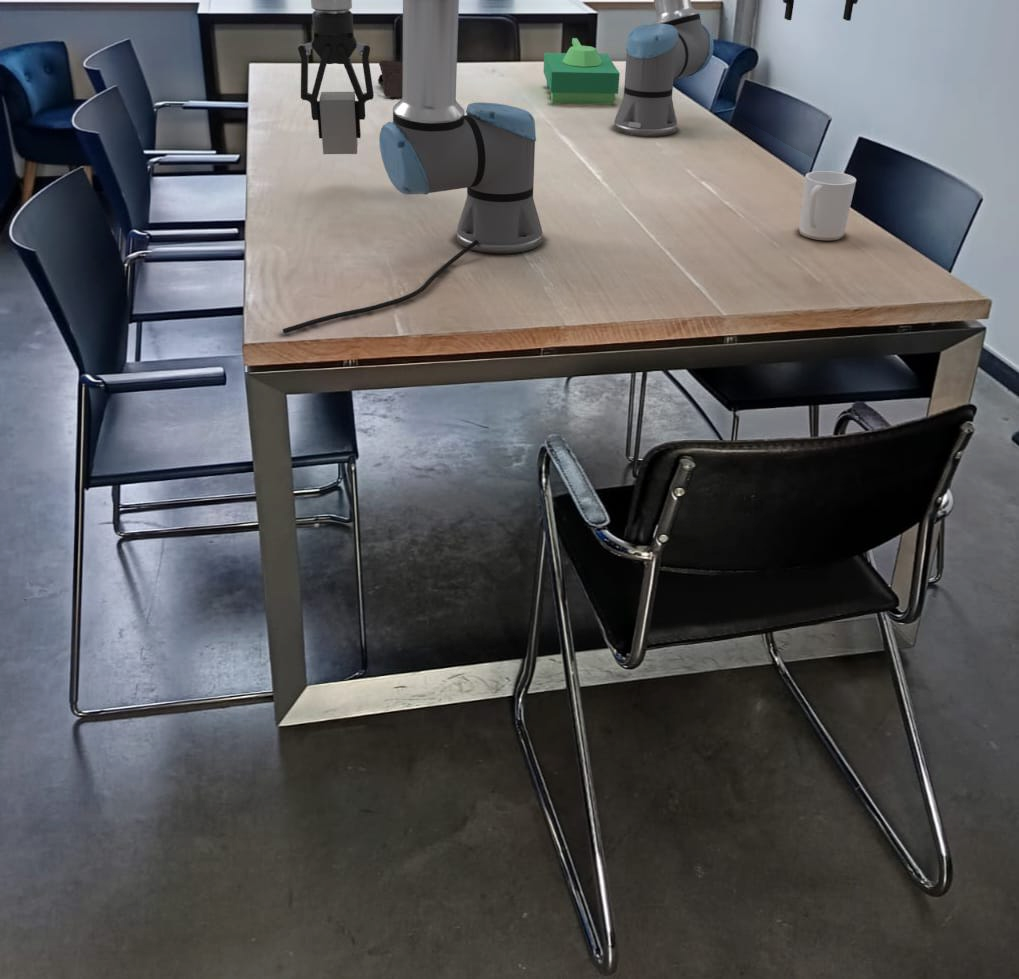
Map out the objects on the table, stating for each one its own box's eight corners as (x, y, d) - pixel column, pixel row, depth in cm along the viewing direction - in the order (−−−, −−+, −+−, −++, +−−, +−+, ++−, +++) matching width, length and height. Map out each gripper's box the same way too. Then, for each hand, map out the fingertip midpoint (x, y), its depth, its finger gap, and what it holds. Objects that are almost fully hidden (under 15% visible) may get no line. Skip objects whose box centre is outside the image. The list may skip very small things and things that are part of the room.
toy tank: (604, 35, 312) (620, 58, 282) (601, 80, 318) (617, 107, 288) (542, 33, 311) (552, 56, 281) (541, 79, 317) (550, 106, 288)
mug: (809, 222, 208) (818, 168, 202) (854, 233, 203) (864, 177, 197) (782, 236, 200) (791, 180, 195) (827, 247, 195) (838, 190, 190)
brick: (357, 153, 214) (354, 99, 209) (323, 154, 214) (319, 100, 208) (357, 144, 221) (354, 91, 216) (324, 144, 220) (321, 91, 215)
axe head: (443, 87, 294) (392, 77, 287) (436, 115, 299) (385, 106, 292) (421, 62, 307) (371, 52, 300) (414, 89, 311) (365, 80, 304)
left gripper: (384, 7, 208) (389, 131, 220) (280, 7, 206) (291, 132, 218) (384, 13, 202) (389, 140, 214) (277, 13, 200) (288, 141, 212)
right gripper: (883, -88, 238) (864, 17, 249) (771, -90, 235) (758, 16, 246) (897, -86, 231) (877, 22, 242) (782, -88, 229) (767, 21, 240)
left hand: (340, 136), depth 216 cm, fingers closed on brick, 7 cm apart
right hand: (817, 19), depth 244 cm, fingers open, 13 cm apart
